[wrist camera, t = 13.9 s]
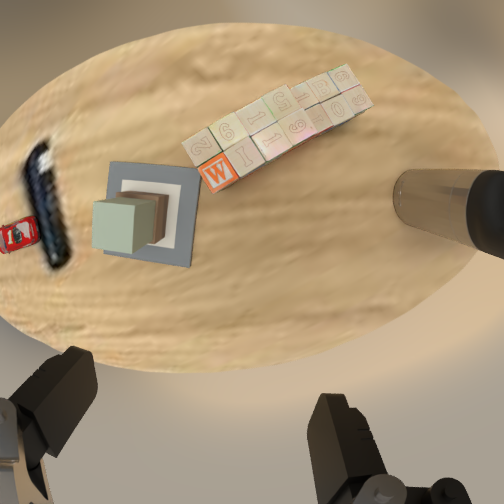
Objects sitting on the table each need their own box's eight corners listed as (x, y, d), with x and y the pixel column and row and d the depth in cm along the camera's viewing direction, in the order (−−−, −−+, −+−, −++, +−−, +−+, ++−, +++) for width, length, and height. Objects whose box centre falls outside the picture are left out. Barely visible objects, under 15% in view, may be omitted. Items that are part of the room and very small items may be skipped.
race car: (5, 253, 41) (-8, 258, 37) (-1, 227, 40) (-14, 231, 36) (45, 242, 41) (31, 248, 37) (38, 212, 40) (24, 216, 36)
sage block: (155, 200, 34) (134, 205, 27) (152, 240, 35) (131, 254, 28) (120, 197, 33) (93, 201, 27) (117, 235, 35) (91, 247, 28)
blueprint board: (202, 169, 39) (194, 167, 33) (190, 265, 42) (182, 279, 36) (113, 161, 38) (93, 160, 32) (106, 252, 41) (88, 262, 35)
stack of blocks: (327, 85, 36) (356, 53, 24) (349, 120, 37) (386, 101, 25) (199, 153, 38) (179, 142, 26) (222, 191, 40) (211, 195, 28)
